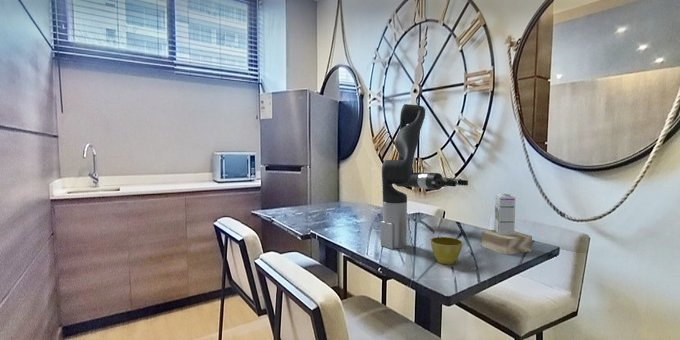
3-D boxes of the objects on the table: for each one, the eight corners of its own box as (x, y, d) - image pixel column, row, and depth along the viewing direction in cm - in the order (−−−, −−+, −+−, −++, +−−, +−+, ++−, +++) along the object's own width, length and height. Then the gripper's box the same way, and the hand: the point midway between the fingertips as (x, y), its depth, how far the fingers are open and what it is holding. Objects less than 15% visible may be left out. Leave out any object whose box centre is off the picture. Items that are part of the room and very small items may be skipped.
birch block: (506, 255, 124) (506, 239, 123) (481, 246, 135) (482, 231, 135) (531, 252, 128) (532, 236, 128) (505, 243, 139) (505, 228, 139)
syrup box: (514, 235, 128) (516, 196, 127) (497, 234, 129) (499, 196, 127) (509, 230, 134) (511, 193, 132) (493, 230, 135) (495, 193, 133)
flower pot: (464, 268, 110) (464, 245, 110) (431, 266, 112) (431, 244, 112) (459, 258, 120) (459, 237, 120) (429, 256, 122) (429, 236, 121)
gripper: (420, 173, 154) (451, 175, 141) (439, 172, 163) (471, 174, 150) (419, 189, 155) (451, 193, 142) (439, 188, 163) (471, 191, 150)
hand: (461, 183), depth 146 cm, fingers open, 8 cm apart
